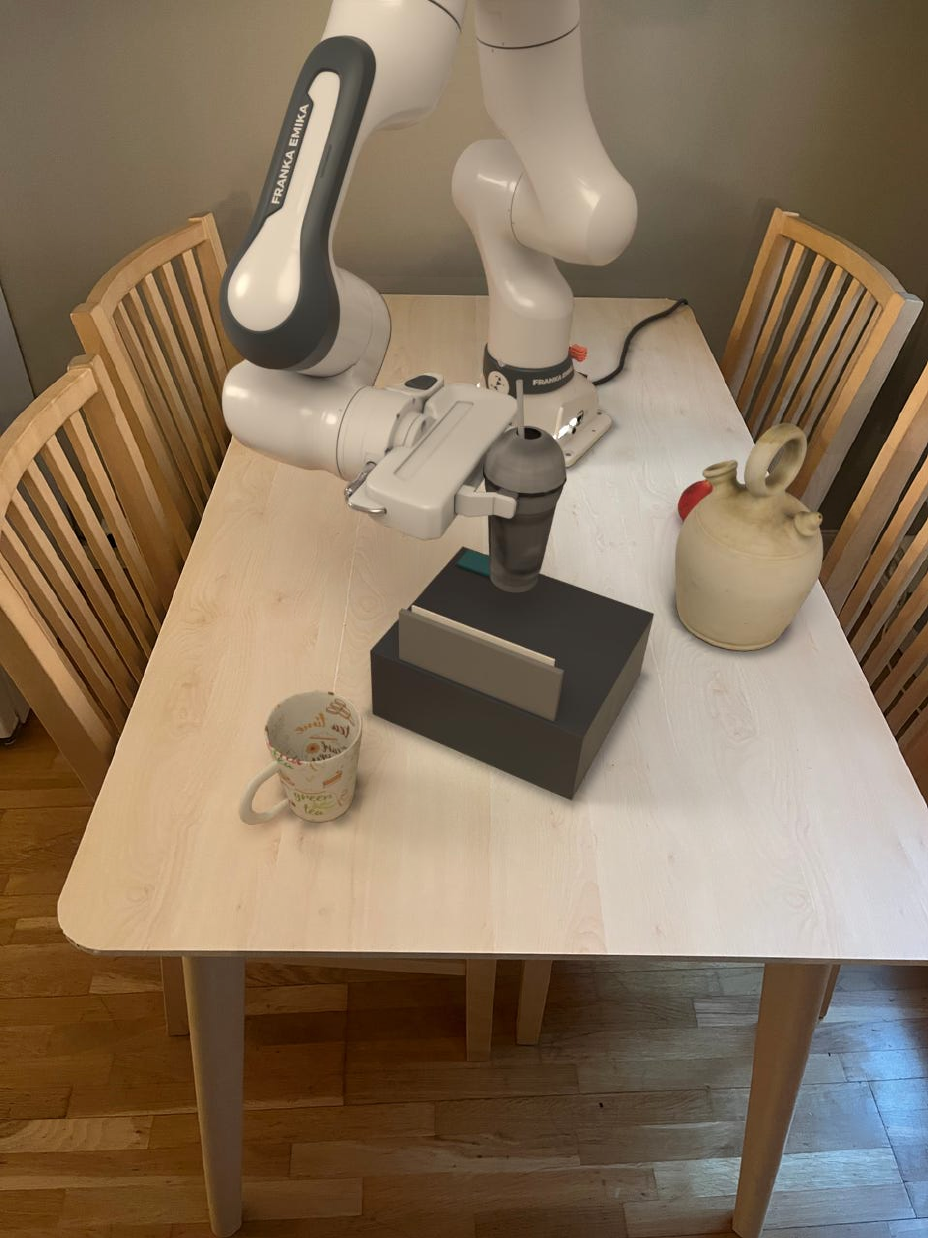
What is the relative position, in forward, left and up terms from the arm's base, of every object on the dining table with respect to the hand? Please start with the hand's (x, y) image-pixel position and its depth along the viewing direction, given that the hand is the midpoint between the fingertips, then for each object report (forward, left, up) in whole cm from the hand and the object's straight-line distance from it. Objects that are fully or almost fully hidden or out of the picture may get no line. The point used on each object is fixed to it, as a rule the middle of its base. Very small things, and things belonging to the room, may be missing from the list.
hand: (534, 480), depth 79 cm
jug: (-27, +10, -27) cm, 39 cm away
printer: (0, 0, -26) cm, 26 cm away
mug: (+25, -4, -27) cm, 37 cm away
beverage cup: (0, -1, -11) cm, 11 cm away
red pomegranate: (-39, -2, -27) cm, 47 cm away
